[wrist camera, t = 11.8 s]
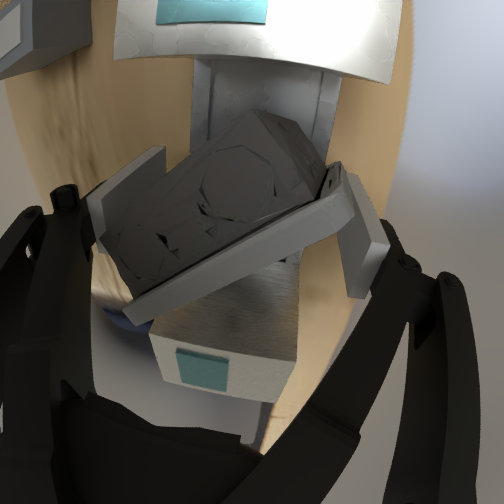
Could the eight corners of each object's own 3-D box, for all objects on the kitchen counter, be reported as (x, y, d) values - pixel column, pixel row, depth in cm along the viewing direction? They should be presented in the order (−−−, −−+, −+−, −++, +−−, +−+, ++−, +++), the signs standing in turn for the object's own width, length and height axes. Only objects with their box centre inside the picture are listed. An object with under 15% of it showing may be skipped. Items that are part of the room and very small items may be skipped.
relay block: (41, 68, 14) (-16, 85, 9) (38, 20, 11) (-18, 27, 6) (93, 43, 13) (30, 49, 8) (90, -11, 10) (31, -17, 5)
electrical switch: (217, 243, 19) (158, 356, 11) (168, 182, 17) (70, 267, 9) (347, 171, 14) (385, 272, 7) (295, 90, 13) (277, 89, 5)
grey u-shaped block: (197, 288, 26) (163, 383, 18) (213, -24, 10) (135, -87, 2) (285, 303, 25) (275, 405, 17) (349, -9, 10) (406, -74, 2)
